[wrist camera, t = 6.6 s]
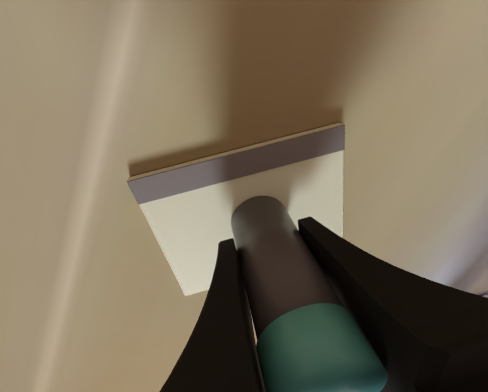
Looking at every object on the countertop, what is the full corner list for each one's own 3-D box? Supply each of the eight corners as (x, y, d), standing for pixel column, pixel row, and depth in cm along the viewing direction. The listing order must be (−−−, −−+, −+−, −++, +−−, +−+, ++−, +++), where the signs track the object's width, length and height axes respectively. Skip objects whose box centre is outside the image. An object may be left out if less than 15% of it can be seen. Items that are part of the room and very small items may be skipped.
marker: (284, 186, 13) (393, 346, 6) (291, 235, 14) (382, 403, 8) (222, 203, 13) (260, 388, 6) (236, 250, 14) (278, 437, 7)
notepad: (339, 122, 12) (344, 125, 12) (339, 246, 16) (343, 251, 16) (129, 177, 11) (127, 182, 11) (185, 290, 16) (185, 297, 15)
